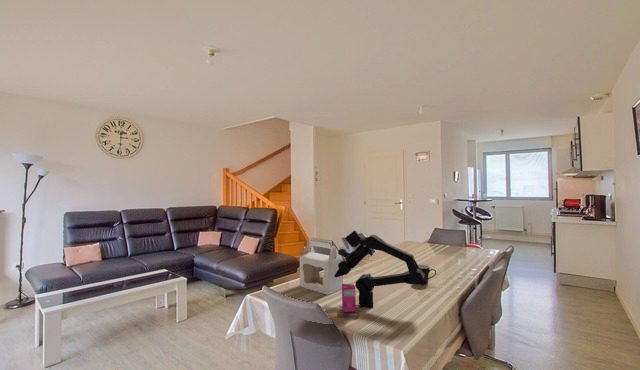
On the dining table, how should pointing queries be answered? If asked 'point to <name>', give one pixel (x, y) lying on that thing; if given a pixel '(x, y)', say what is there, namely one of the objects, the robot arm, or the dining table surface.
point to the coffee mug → (425, 273)
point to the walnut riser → (348, 315)
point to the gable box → (327, 262)
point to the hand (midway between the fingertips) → (337, 274)
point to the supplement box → (348, 298)
